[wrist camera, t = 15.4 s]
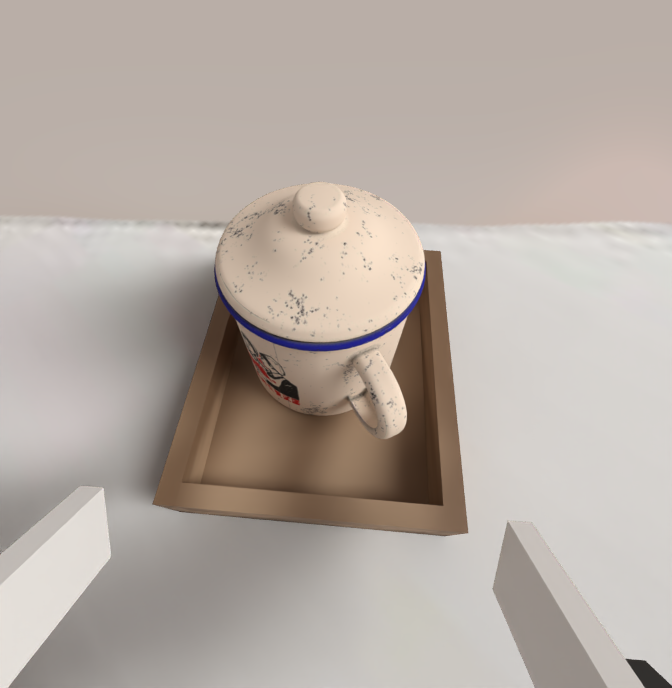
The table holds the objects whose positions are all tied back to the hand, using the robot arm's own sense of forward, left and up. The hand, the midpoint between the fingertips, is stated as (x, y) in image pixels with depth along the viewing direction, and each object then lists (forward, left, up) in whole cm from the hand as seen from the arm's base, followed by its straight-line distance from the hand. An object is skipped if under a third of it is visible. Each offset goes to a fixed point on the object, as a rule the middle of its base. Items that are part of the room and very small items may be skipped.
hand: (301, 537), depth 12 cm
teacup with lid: (0, +9, -7) cm, 12 cm away
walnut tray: (0, +9, -8) cm, 12 cm away
